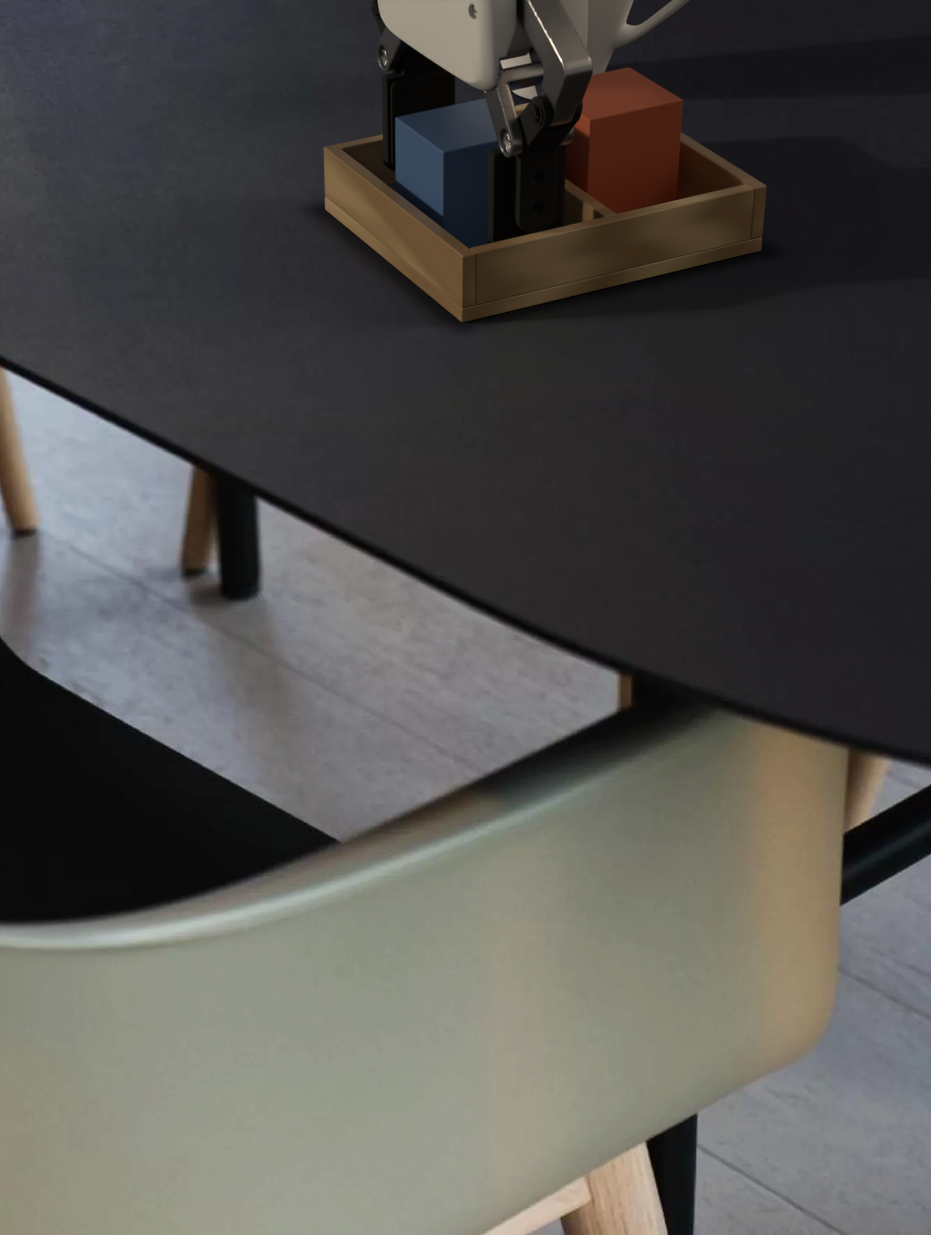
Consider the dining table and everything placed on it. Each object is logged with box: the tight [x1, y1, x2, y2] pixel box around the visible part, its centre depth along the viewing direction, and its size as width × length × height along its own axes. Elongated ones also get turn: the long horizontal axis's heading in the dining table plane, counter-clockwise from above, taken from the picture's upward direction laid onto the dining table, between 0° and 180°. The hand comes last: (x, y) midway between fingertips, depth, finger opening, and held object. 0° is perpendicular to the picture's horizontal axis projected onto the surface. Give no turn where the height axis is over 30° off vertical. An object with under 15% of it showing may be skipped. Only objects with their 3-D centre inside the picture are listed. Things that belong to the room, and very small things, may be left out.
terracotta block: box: [565, 66, 684, 214], centre depth 106 cm, size 4×4×4 cm
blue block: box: [395, 97, 500, 249], centre depth 104 cm, size 4×4×4 cm
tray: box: [323, 102, 768, 323], centre depth 106 cm, size 14×13×3 cm
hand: (470, 200), depth 104 cm, fingers open, 9 cm apart
